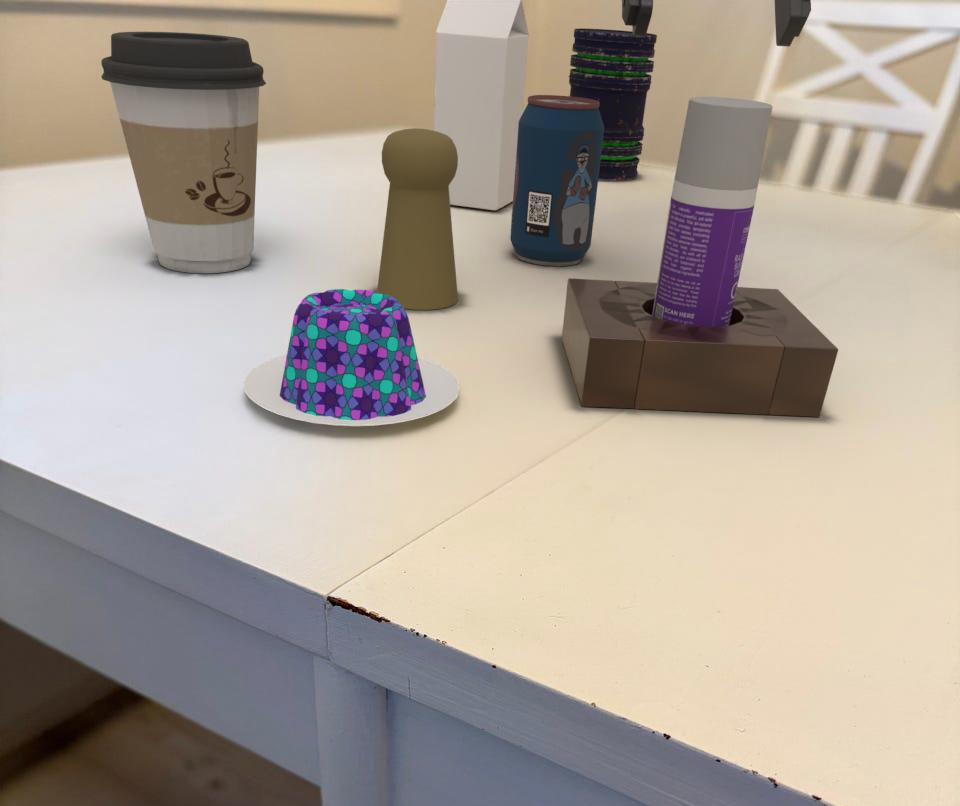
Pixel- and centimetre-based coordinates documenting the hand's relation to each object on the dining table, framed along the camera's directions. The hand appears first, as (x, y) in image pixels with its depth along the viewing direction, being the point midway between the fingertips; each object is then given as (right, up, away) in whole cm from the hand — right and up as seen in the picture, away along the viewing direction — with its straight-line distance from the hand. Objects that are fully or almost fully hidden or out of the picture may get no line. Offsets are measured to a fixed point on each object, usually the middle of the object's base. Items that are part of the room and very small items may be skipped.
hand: (716, 30), depth 54 cm
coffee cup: (-35, -5, +21) cm, 41 cm away
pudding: (-21, -21, 0) cm, 30 cm away
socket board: (-1, -18, +5) cm, 19 cm away
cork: (-18, -10, +16) cm, 26 cm away
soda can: (-8, -2, +28) cm, 29 cm away
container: (-1, -18, +6) cm, 19 cm away
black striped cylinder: (+1, +24, +64) cm, 68 cm away
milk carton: (-14, +11, +45) cm, 49 cm away
